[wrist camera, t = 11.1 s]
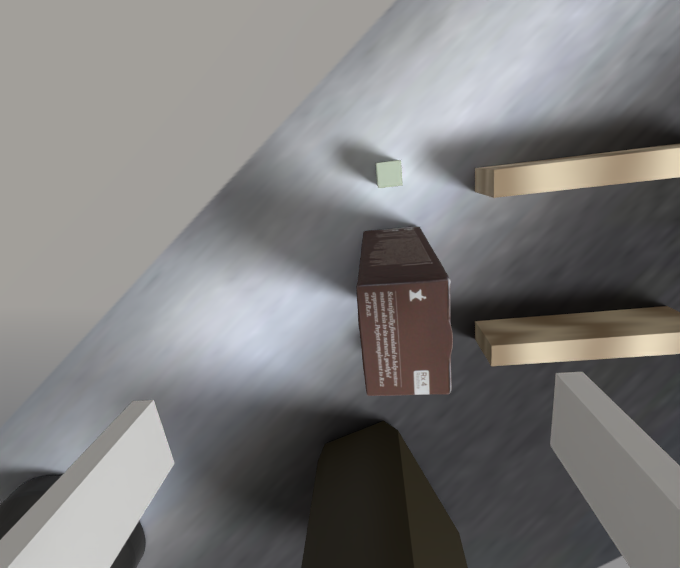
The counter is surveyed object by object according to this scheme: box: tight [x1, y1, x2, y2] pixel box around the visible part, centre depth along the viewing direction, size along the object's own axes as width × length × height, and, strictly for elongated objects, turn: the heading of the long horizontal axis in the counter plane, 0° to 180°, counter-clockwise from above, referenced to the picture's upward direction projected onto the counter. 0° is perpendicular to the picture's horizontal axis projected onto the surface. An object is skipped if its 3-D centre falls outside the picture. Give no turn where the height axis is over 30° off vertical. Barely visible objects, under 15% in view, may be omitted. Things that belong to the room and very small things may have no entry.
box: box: [356, 227, 453, 396], centre depth 22 cm, size 6×4×12 cm
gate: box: [375, 160, 403, 188], centre depth 26 cm, size 2×16×3 cm, turn 6°
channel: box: [475, 144, 680, 366], centre depth 25 cm, size 14×13×4 cm
